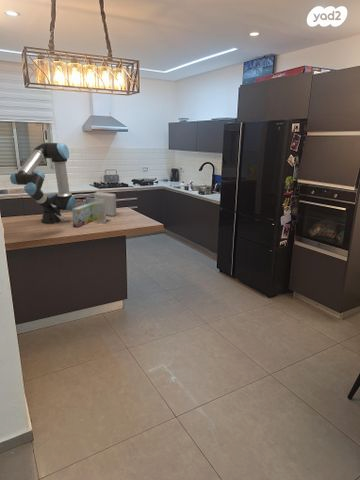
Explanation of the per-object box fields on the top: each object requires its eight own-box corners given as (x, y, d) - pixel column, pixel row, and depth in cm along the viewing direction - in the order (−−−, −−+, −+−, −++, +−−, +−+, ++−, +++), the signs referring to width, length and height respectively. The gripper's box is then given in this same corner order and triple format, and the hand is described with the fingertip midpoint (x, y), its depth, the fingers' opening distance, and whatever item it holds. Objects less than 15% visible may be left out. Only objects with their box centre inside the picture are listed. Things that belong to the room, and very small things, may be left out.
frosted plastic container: (87, 220, 284) (85, 197, 278) (93, 218, 292) (92, 196, 286) (104, 223, 277) (103, 199, 271) (110, 220, 285) (109, 198, 279)
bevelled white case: (118, 215, 306) (117, 193, 300) (112, 216, 299) (112, 195, 293) (99, 212, 314) (98, 191, 308) (94, 214, 307) (93, 192, 301)
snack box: (79, 227, 262) (77, 209, 258) (72, 227, 264) (71, 208, 259) (91, 221, 282) (90, 204, 277) (86, 220, 283) (84, 203, 279)
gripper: (33, 203, 230) (52, 220, 250) (47, 205, 226) (66, 222, 245) (38, 194, 233) (57, 212, 253) (52, 196, 229) (70, 214, 248)
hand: (61, 217), depth 249 cm, fingers closed
